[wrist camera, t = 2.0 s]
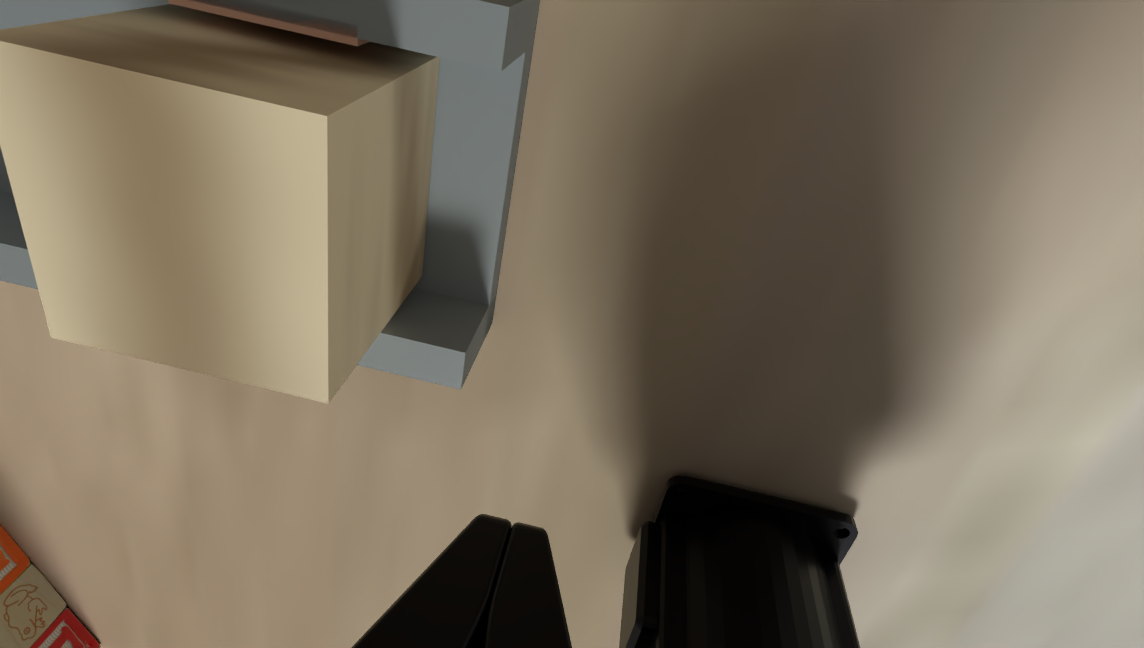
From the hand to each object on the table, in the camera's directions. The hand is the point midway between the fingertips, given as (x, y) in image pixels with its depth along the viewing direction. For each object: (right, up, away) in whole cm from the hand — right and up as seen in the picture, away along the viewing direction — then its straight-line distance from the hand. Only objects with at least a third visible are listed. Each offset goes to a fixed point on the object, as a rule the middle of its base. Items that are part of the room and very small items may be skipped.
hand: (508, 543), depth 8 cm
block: (-6, +7, +9) cm, 13 cm away
